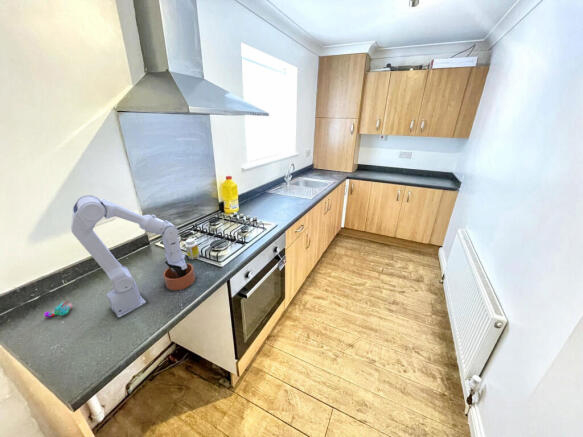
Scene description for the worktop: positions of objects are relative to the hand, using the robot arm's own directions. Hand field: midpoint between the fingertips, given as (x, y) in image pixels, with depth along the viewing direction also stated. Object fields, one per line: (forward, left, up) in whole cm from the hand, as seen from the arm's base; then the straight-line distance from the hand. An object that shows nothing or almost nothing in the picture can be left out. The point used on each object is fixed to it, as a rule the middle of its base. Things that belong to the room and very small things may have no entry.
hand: (179, 276), depth 102 cm
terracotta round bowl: (0, 0, -3) cm, 3 cm away
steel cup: (0, 0, -2) cm, 2 cm away
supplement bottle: (+14, +13, -3) cm, 20 cm away
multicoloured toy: (0, -17, -2) cm, 17 cm away
